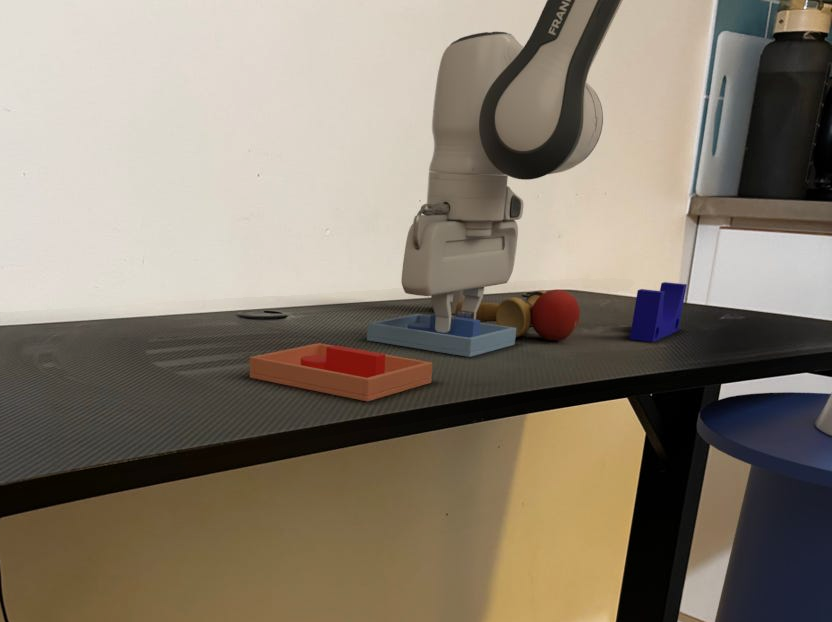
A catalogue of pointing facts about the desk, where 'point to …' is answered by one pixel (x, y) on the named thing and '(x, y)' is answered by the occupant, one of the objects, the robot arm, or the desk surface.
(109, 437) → the desk surface
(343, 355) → the red stepped block
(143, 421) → the desk surface
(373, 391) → the red tray
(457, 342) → the blue tray
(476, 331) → the blue stepped block
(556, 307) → the kendama
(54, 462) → the desk surface
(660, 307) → the cable clip
